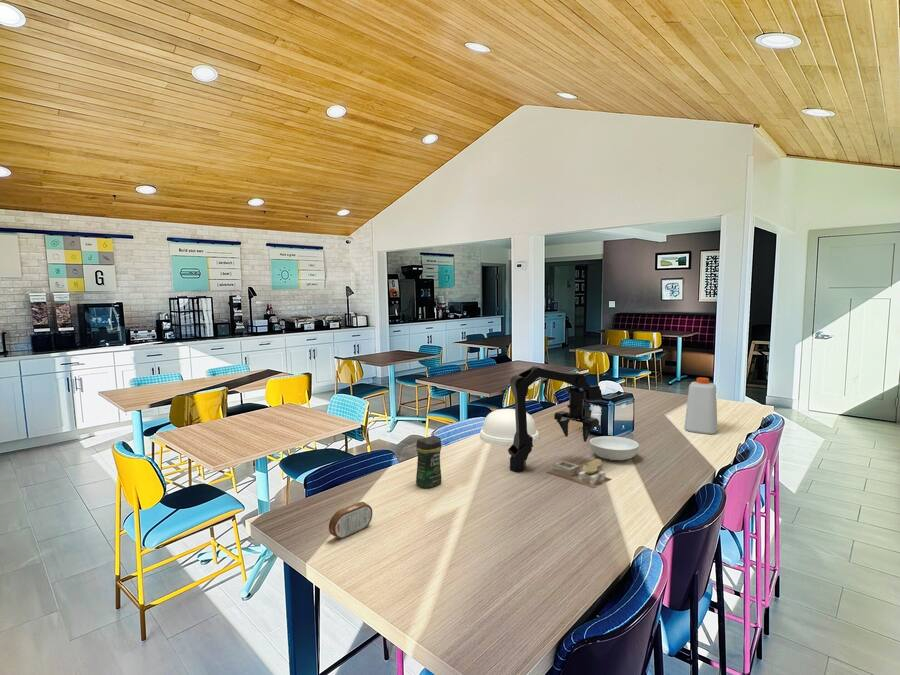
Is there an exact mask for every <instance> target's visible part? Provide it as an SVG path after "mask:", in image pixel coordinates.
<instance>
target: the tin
mask: <svg viewBox="0 0 900 675" xmlns="http://www.w3.org/2000/svg"><path fill="white" fill-rule="evenodd" d="M372 519H373V508H372V507H371V506H370V505H369V504H368V503H366V502H364V501H360V502H357V503H353V504H351V505H349V506H346V507H343V508H341V509H338V510H337V511H336V512H335V513H334V514H333V515H332V516H331V518H330V520H329V523H328V531H329V533H330V535H332V537H335V538H337V539H345V538H347V537H349V536H352V535H354V534H356V533H359V532H361V531H363V530H365V529H366V528H367V527H369V525H370V523H371V521H372Z"/></svg>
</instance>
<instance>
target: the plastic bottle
mask: <svg viewBox="0 0 900 675" xmlns="http://www.w3.org/2000/svg"><path fill="white" fill-rule="evenodd" d="M686 402H687V403H686V410H685V418H684V419H685V420H684V425H683V426H684V430H685V431H687V432H689V431H690V433H695V432H696V433H697V434H703V435H714V434H716V433H717V432H718V406H717V405H718V404H717V385H716V383H713V382H710V378H708V377H701V376H700V377H696V381H691V382H690V384H689V385H688V392H687V401H686Z"/></svg>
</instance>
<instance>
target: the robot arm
mask: <svg viewBox="0 0 900 675" xmlns="http://www.w3.org/2000/svg"><path fill="white" fill-rule="evenodd" d="M538 378H543V379H547V380H548V379H549V380H553V381H559V382H562V383H566V384H568V385H570V386H567V387H566V388H565V389H564V392H565V393H567V394H569V402H568V404H567V406H566V407H567V408H568V411H569V412H567V411H564V410H563V411H562V410H560V411H558V412H556V411H555V413H554V415H553V419H554V420H556V422H557V423H558V424H559V426H560V428H561V430H562V432H563V434H564V436H565V437H566V438H567V437H568V436H569V423H570V421H572V422H573V421H574V422H578V423H582V425H583V426H582V438H583V442H587V441H588V438H589V435H590V433H591V431H592V430H593V429H594V428H597V427H599V426H600V421H599V419H598V418H595V417H592V411H593V410H592V409H589V408H587V407H586V404H584V401H585V403H597V402H599V403H600V402H601V401H602V399H603V394H602V390H601V387H600V386H599V385H597V384H596V385H595V384H594V385H589V383H588V382H587V378H586V376H585V374H582V373H579V372H576V371H559V370H558V371H557V370H553V369H548V368H545V367H544V368H543V367H539V366H536V365H534V366H532V367H529V368H528V369H526V370H524V371H522V372H520V373H519V374H518V375H517V374H515V375H513V376H512V377H511V378H510V379H509V385H510V390H511V393H512V395H513V397H514V409H515V417H516V433H515V436H514V442H513V445H512V446H511V447H509V448H508V449H507V452H508V454H509V455H510V457H509V471H510V472H514V473H522V472H525V470H526V468H527V462H526V461H527V460H528V458H529V454H530V453H532V450H533V448H534V444H532V441H533V437H531V436H530V435H529V434H528V433H527V417H526V413H527V403H526V398H527V396H528V393H529V387H530V386H531V385H532V384H534V382H536V380H537V379H538ZM572 386H573V387H572Z"/></svg>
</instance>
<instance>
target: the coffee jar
mask: <svg viewBox="0 0 900 675" xmlns="http://www.w3.org/2000/svg"><path fill="white" fill-rule="evenodd" d="M415 448H416V449H415V450H416V451H417V452H416V454H417V462H416V463H417V464H416V465H417V466H416V476H415V477H416V479H415V483H416V485H417V486H418V487H419V488H426V489H428V488H429V489H430V488H432V487H436V486H439V485H441V483H442V470H441V450H442V439H441V437H439V436H436V435H431V436H426V437H422V438H418V439H417V440H416V446H415Z"/></svg>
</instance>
